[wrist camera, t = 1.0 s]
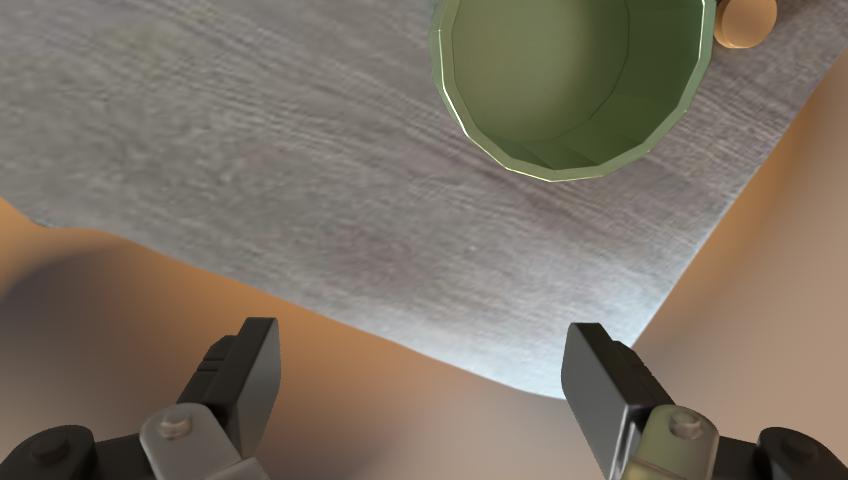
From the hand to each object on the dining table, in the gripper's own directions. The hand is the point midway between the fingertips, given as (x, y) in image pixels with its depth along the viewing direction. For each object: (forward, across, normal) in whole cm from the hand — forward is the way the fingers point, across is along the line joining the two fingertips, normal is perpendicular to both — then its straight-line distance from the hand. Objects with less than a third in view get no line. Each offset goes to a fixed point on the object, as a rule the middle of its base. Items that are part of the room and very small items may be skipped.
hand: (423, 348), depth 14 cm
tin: (+25, -8, -8) cm, 28 cm away
